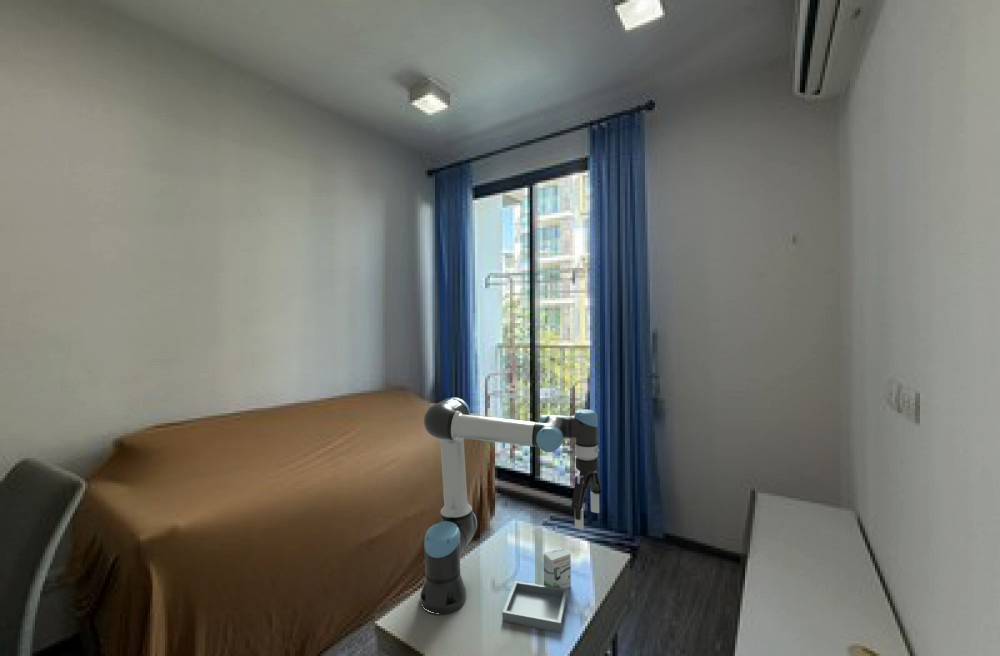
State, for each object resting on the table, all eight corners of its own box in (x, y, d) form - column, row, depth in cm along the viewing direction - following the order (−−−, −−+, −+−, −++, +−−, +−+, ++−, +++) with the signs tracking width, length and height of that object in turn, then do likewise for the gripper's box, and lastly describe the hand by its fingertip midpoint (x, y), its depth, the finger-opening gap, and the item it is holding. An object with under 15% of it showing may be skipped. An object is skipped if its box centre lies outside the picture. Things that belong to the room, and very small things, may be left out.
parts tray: (502, 621, 125) (502, 612, 125) (514, 589, 141) (514, 580, 141) (560, 633, 120) (560, 622, 120) (567, 598, 136) (567, 589, 136)
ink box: (551, 595, 138) (550, 560, 137) (543, 587, 142) (542, 553, 142) (571, 586, 142) (571, 553, 142) (562, 579, 146) (562, 546, 146)
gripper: (582, 470, 124) (583, 539, 124) (610, 449, 145) (611, 508, 145) (559, 465, 128) (560, 532, 128) (590, 445, 149) (591, 503, 149)
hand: (587, 520), depth 137 cm, fingers open, 13 cm apart
